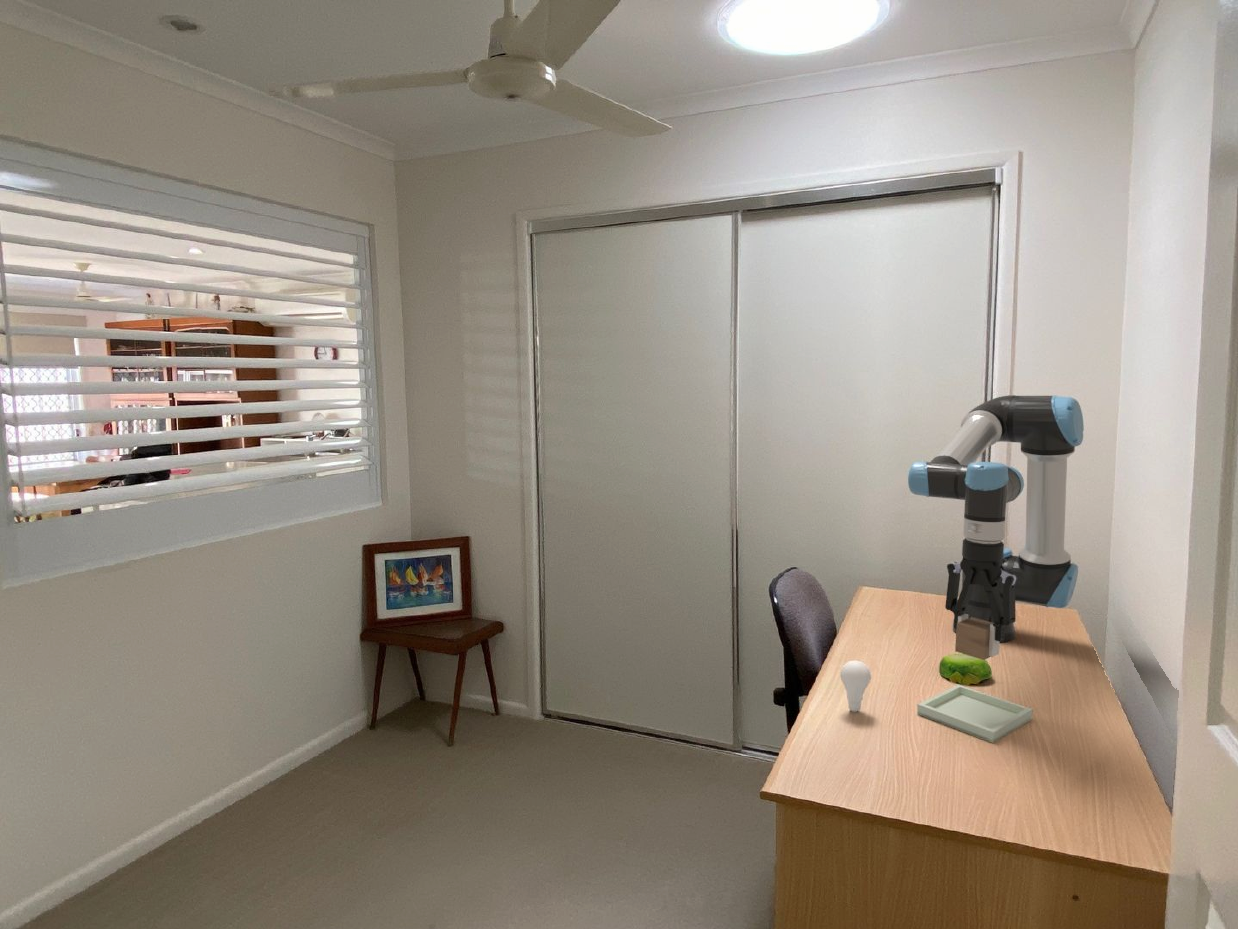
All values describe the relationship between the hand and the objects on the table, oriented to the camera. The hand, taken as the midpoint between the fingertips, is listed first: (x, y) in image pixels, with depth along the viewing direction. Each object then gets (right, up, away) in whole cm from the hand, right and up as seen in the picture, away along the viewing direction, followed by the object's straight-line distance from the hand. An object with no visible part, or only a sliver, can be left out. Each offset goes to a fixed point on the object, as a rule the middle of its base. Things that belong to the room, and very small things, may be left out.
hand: (977, 650), depth 159 cm
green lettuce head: (+8, -12, +23) cm, 27 cm away
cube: (0, 0, 0) cm, 0 cm away
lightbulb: (-24, -14, +5) cm, 28 cm away
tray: (0, -14, +2) cm, 14 cm away
